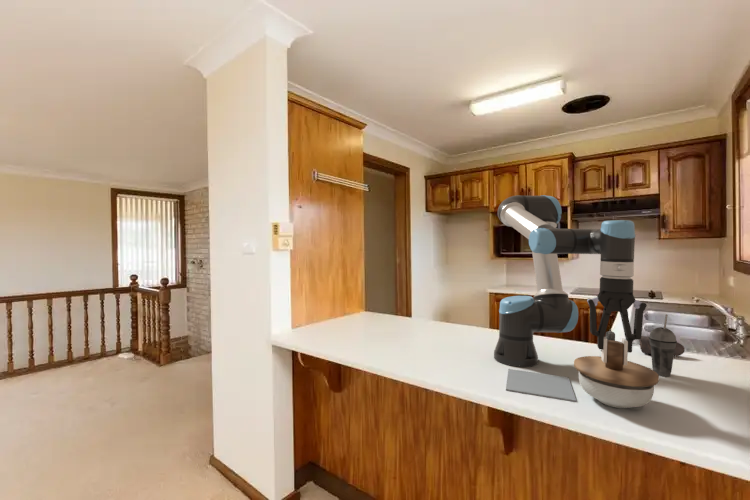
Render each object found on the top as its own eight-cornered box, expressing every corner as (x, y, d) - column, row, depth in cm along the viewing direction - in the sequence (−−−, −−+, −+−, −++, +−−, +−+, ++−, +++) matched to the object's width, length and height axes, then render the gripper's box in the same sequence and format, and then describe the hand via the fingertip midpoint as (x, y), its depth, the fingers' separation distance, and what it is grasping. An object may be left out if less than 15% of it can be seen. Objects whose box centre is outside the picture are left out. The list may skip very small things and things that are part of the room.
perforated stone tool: (681, 355, 136) (682, 337, 136) (688, 359, 131) (688, 341, 131) (635, 351, 141) (635, 334, 141) (639, 354, 136) (640, 337, 136)
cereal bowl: (583, 409, 91) (584, 382, 91) (573, 385, 106) (574, 362, 106) (664, 422, 84) (664, 393, 84) (641, 395, 100) (642, 370, 100)
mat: (505, 390, 102) (505, 389, 102) (508, 369, 119) (508, 368, 119) (576, 401, 95) (576, 400, 95) (568, 378, 112) (568, 377, 112)
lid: (578, 378, 90) (579, 347, 90) (570, 356, 108) (571, 330, 108) (670, 392, 83) (671, 358, 83) (645, 366, 100) (646, 337, 100)
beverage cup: (642, 370, 119) (643, 312, 119) (661, 370, 120) (663, 312, 119) (661, 378, 112) (663, 316, 111) (682, 378, 112) (684, 316, 112)
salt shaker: (622, 364, 125) (623, 331, 125) (604, 363, 126) (605, 330, 126) (615, 359, 131) (615, 327, 130) (597, 358, 132) (598, 326, 131)
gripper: (582, 277, 95) (580, 362, 95) (660, 280, 88) (657, 371, 89) (578, 274, 102) (576, 354, 102) (650, 277, 95) (647, 362, 95)
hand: (614, 362), depth 95 cm, fingers closed on lid, 4 cm apart
